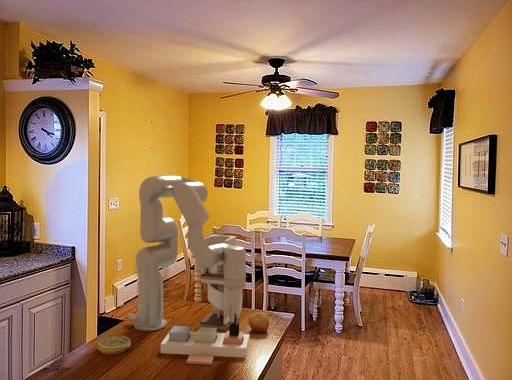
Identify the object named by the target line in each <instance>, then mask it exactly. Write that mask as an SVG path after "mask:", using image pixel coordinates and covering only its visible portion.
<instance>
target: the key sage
mask: <svg viewBox="0 0 512 380" xmlns="http://www.w3.org/2000/svg"><path fill="white" fill-rule="evenodd" d="M217 330H218V329H217V328H206V327H199V328H198V330H197V331H196V332H197V333H196V342H197V343H214V341H215V339H216V337H217V333H218V331H217Z"/></svg>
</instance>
